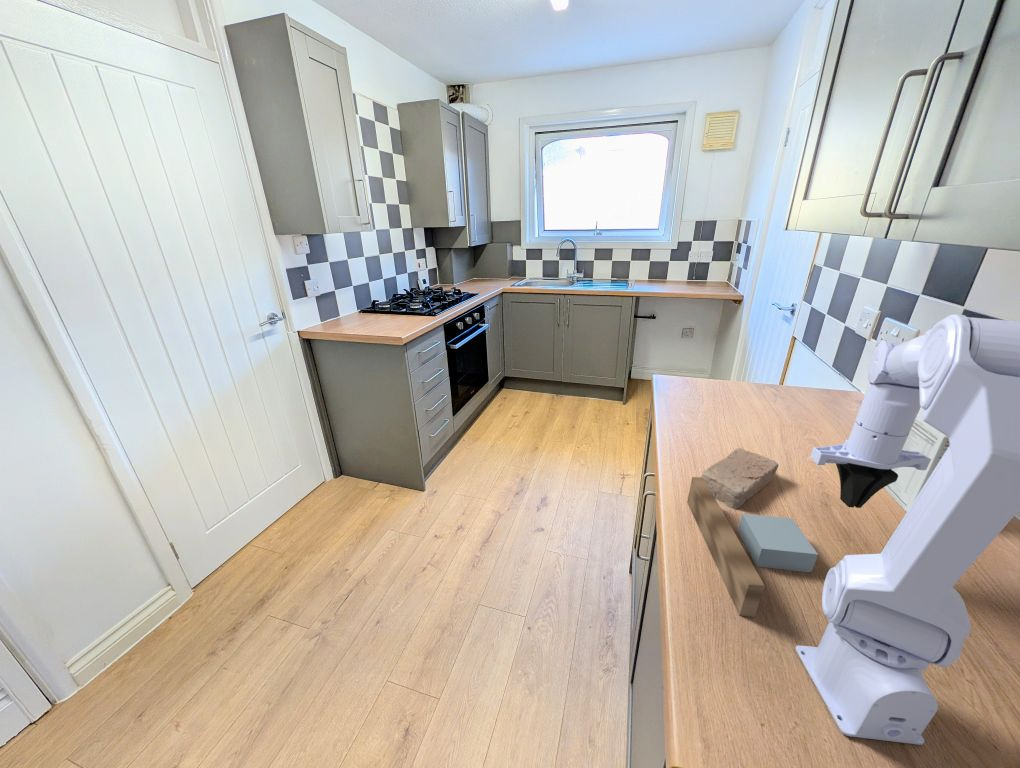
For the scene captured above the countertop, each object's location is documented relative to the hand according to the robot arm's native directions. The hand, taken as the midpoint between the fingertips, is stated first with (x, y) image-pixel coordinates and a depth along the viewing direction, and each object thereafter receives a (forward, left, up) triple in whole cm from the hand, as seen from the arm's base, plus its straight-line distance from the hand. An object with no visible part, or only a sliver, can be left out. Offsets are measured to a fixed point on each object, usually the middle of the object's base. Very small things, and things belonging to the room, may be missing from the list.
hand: (850, 503), depth 60 cm
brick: (+18, +8, -11) cm, 22 cm away
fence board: (-1, +19, -10) cm, 21 cm away
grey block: (0, +9, -11) cm, 14 cm away
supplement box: (+15, -25, -11) cm, 31 cm away
